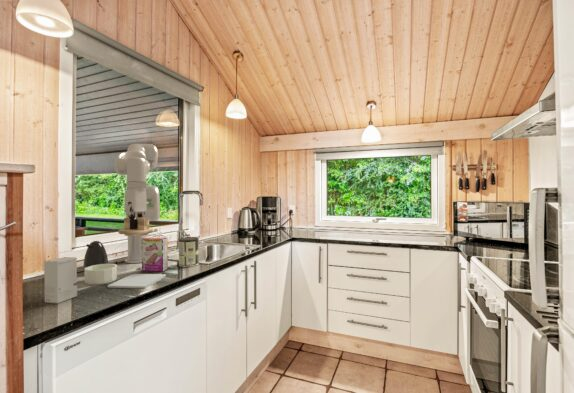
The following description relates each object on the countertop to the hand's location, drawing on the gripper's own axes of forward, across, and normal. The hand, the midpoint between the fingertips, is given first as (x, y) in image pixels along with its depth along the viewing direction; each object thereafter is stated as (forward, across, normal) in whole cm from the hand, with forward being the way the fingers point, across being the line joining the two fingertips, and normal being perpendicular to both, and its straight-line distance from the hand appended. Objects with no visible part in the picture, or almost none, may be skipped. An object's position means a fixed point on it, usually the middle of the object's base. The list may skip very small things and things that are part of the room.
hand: (136, 227), depth 134 cm
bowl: (+23, 0, -16) cm, 29 cm away
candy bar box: (+24, -18, -2) cm, 30 cm away
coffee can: (+24, -31, +10) cm, 40 cm away
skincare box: (+24, +23, -15) cm, 36 cm away
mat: (+23, 0, 0) cm, 23 cm away
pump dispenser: (+24, -13, -29) cm, 39 cm away
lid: (+3, 0, 0) cm, 3 cm away
